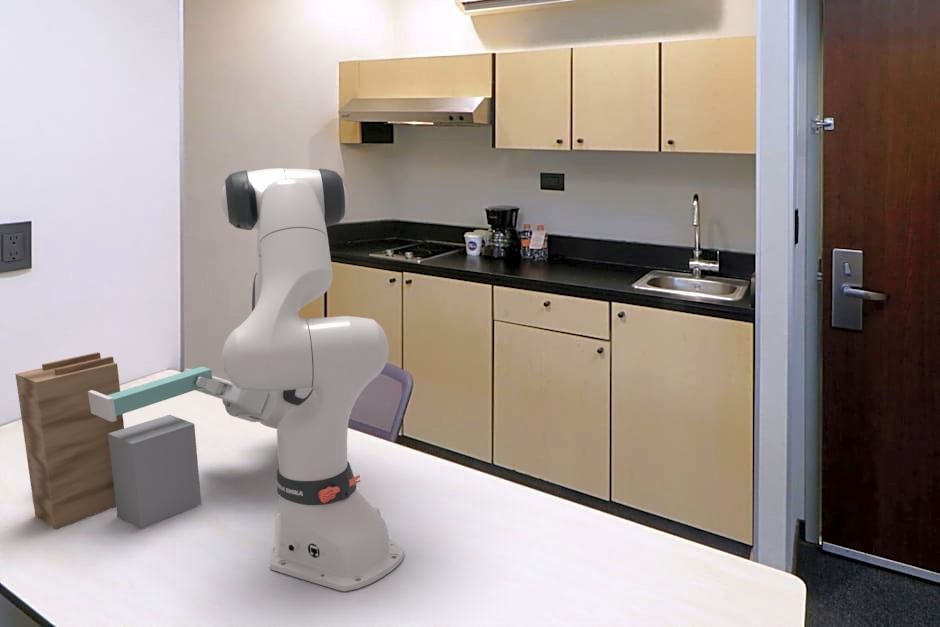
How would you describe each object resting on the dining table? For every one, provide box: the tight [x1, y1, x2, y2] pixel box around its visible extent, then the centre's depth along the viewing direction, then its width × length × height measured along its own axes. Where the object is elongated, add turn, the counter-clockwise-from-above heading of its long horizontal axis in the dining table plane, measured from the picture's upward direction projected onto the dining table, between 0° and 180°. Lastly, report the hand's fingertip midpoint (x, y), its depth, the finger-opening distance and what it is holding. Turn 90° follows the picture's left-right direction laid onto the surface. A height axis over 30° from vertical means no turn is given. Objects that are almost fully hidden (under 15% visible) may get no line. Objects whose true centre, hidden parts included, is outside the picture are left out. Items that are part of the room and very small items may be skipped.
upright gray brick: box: [108, 414, 202, 530], centre depth 137 cm, size 8×12×16 cm, turn 143°
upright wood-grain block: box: [15, 352, 125, 530], centre depth 137 cm, size 8×14×28 cm, turn 143°
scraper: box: [88, 366, 213, 422], centre depth 135 cm, size 7×21×4 cm, turn 143°
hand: (189, 378), depth 140 cm, fingers closed on scraper, 3 cm apart
